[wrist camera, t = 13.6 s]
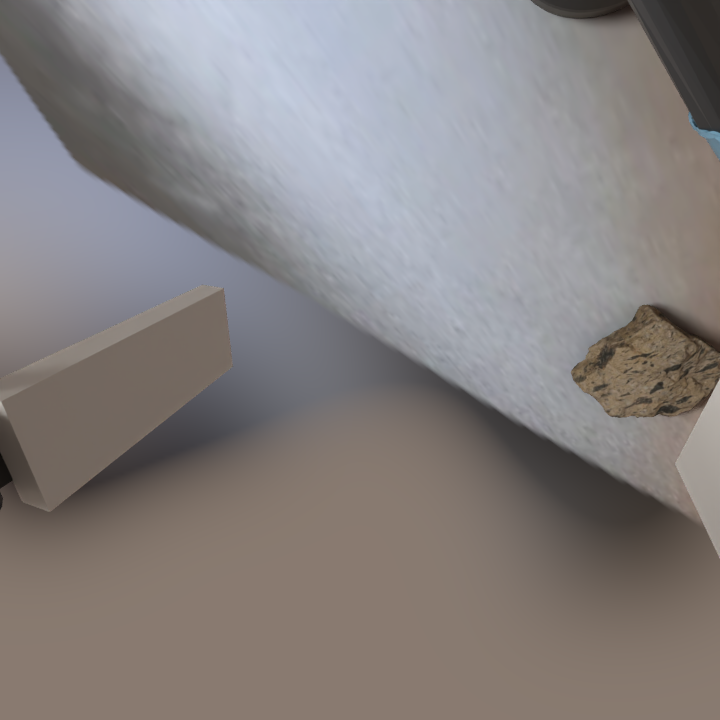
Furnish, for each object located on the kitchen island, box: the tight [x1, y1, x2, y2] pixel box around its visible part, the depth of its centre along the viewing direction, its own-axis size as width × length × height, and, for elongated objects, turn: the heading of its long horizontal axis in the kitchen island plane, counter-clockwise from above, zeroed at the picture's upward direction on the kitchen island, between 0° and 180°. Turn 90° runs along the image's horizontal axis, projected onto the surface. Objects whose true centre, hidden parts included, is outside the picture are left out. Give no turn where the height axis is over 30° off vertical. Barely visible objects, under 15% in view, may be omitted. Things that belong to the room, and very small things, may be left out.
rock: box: [571, 305, 720, 418], centre depth 43 cm, size 11×12×4 cm
